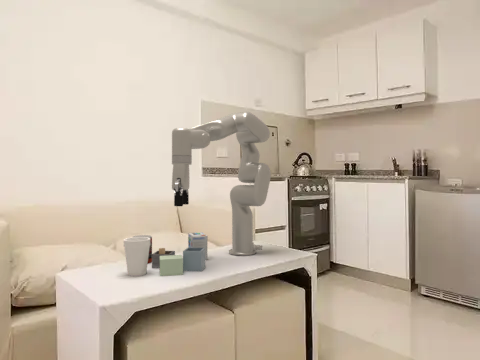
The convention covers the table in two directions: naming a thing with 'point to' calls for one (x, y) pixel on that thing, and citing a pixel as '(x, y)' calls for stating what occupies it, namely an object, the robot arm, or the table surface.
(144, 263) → the foam cup
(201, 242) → the light bulb box
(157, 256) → the metal tin
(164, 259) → the pale green block
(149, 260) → the canned food
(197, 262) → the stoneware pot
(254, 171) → the robot arm
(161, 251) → the wooden dowel
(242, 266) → the table surface
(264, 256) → the table surface
